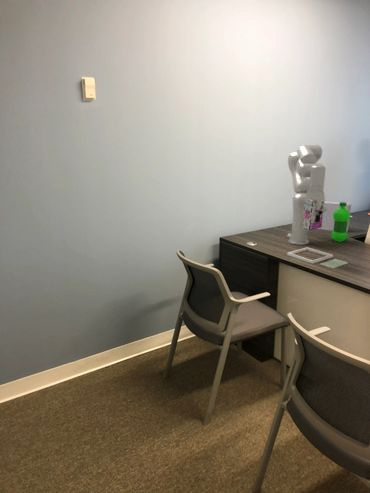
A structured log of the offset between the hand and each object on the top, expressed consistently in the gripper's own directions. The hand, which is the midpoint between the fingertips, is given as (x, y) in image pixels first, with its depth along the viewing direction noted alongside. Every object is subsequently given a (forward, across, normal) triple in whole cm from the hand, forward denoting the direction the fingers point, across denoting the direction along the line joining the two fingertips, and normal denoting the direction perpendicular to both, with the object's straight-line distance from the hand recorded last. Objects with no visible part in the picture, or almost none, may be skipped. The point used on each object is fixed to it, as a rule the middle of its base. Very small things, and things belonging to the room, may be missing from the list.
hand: (313, 220), depth 213 cm
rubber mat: (+21, +16, 0) cm, 27 cm away
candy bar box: (+5, 0, 0) cm, 5 cm away
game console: (+22, -31, +60) cm, 71 cm away
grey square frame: (+21, 0, 0) cm, 21 cm away
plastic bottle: (+22, -9, +41) cm, 47 cm away
